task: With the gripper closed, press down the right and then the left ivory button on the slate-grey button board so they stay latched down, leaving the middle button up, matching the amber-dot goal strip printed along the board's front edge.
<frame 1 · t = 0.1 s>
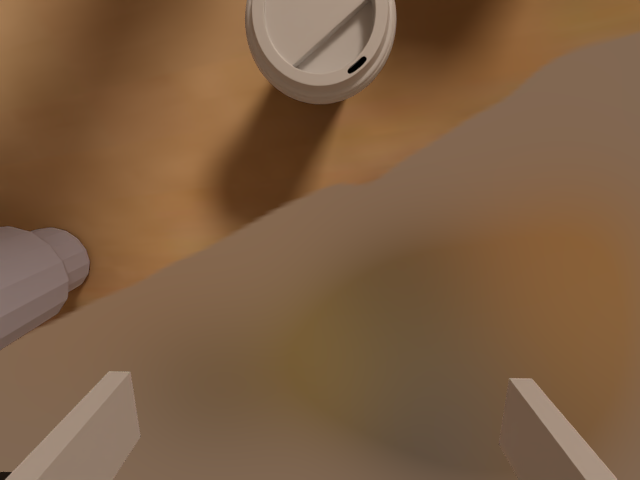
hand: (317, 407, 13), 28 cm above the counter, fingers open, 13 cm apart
soap bottle: (60, 257, 42), on the counter
coffee cup: (323, 65, 36), on the counter
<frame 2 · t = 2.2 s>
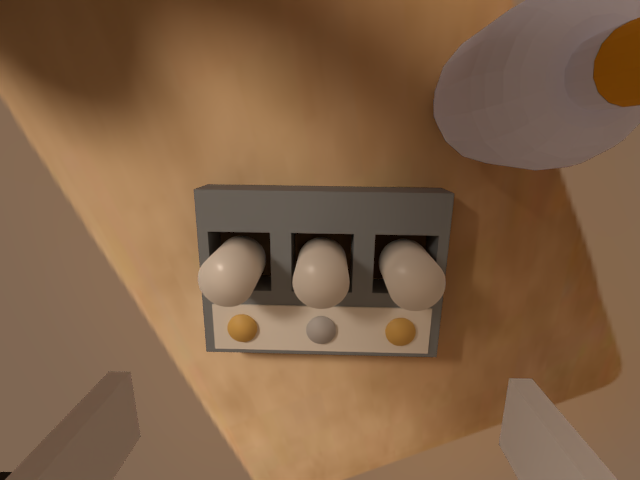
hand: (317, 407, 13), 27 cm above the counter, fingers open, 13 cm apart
soap bottle: (469, 105, 35), on the counter
button a: (235, 268, 34), point 6 cm above the counter, slide at 0.0 cm
board: (322, 264, 40), on the counter
button b: (321, 270, 34), point 6 cm above the counter, slide at 0.0 cm
button c: (409, 272, 33), point 6 cm above the counter, slide at 0.0 cm
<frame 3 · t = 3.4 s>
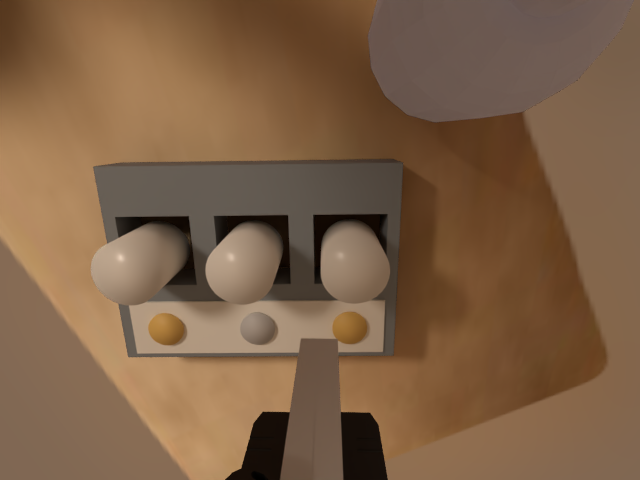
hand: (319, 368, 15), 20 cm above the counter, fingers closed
soap bottle: (421, 58, 30), on the counter
button a: (145, 259, 28), point 6 cm above the counter, slide at 0.0 cm
board: (262, 252, 34), on the counter
button b: (248, 258, 28), point 6 cm above the counter, slide at 0.0 cm
button c: (352, 257, 28), point 6 cm above the counter, slide at 0.0 cm
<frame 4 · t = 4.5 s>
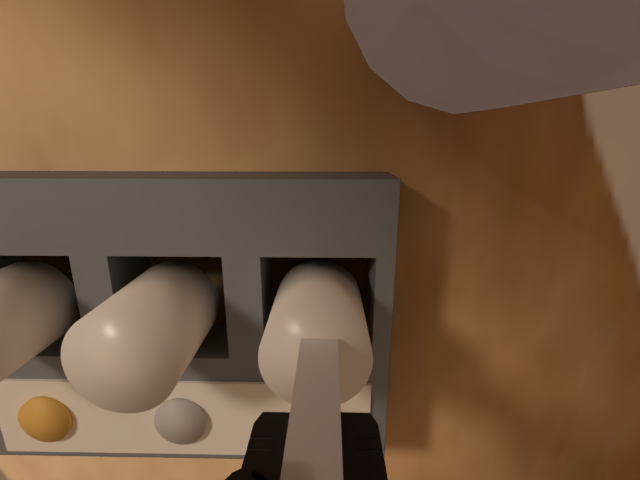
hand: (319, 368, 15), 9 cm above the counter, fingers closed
soap bottle: (431, 20, 20), on the counter
board: (197, 302, 24), on the counter
button b: (153, 327, 18), point 6 cm above the counter, slide at 0.0 cm
button c: (317, 325, 18), point 6 cm above the counter, slide at 0.4 cm, touching gripper
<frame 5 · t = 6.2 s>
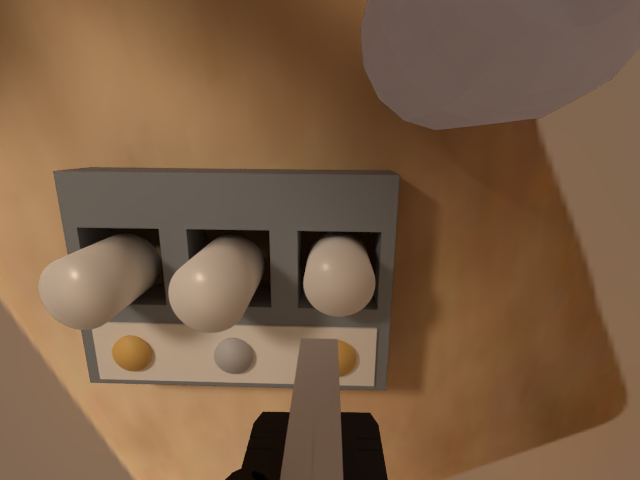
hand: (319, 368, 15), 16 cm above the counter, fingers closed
soap bottle: (423, 59, 27), on the counter
button a: (106, 277, 25), point 6 cm above the counter, slide at 0.0 cm
board: (243, 270, 31), on the counter
button b: (222, 279, 25), point 6 cm above the counter, slide at 0.0 cm
button c: (338, 268, 27), point 3 cm above the counter, slide at 2.5 cm
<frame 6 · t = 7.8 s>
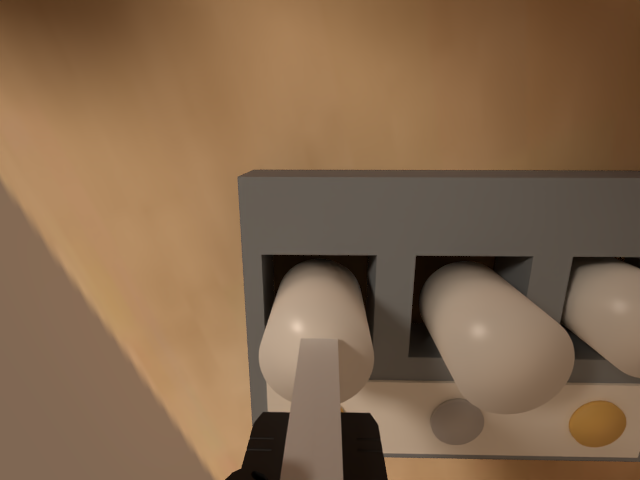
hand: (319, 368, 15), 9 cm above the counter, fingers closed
button a: (318, 323, 18), point 6 cm above the counter, slide at 0.3 cm, touching gripper
board: (442, 302, 24), on the counter
button b: (483, 327, 18), point 6 cm above the counter, slide at 0.0 cm
button c: (611, 306, 20), point 3 cm above the counter, slide at 2.5 cm
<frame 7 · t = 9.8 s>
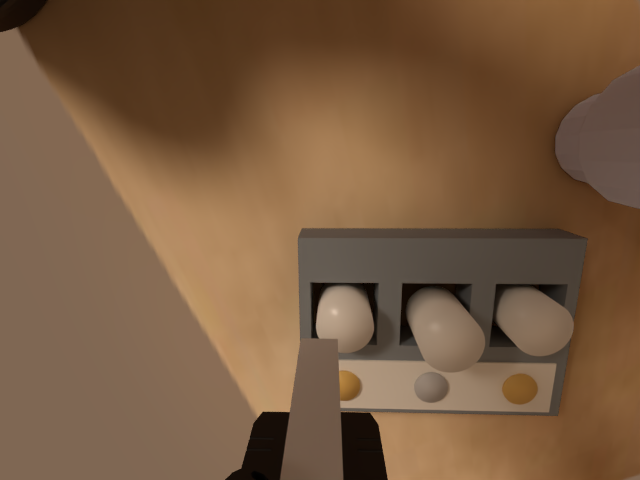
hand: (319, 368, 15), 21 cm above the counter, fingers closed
soap bottle: (593, 139, 32), on the counter
button a: (344, 311, 33), point 3 cm above the counter, slide at 2.6 cm
board: (423, 311, 37), on the counter
button b: (441, 325, 30), point 6 cm above the counter, slide at 0.0 cm
button c: (524, 313, 33), point 3 cm above the counter, slide at 2.5 cm
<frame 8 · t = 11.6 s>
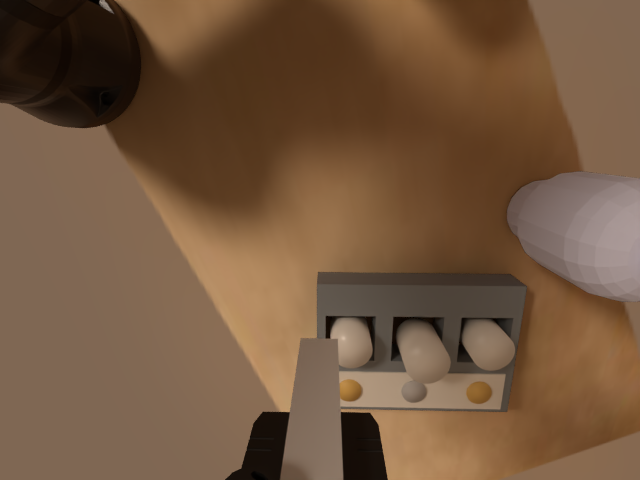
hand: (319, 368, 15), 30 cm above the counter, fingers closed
soap bottle: (535, 210, 44), on the counter
button a: (350, 336, 45), point 3 cm above the counter, slide at 2.6 cm
board: (409, 334, 48), on the counter
button b: (421, 348, 42), point 6 cm above the counter, slide at 0.0 cm
button c: (482, 338, 44), point 3 cm above the counter, slide at 2.5 cm
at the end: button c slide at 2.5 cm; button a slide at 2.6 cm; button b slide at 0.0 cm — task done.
